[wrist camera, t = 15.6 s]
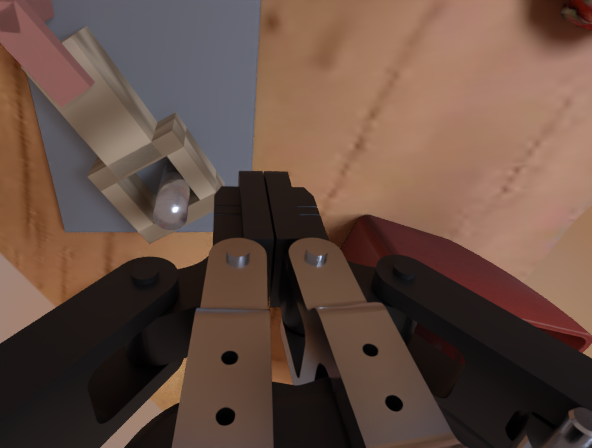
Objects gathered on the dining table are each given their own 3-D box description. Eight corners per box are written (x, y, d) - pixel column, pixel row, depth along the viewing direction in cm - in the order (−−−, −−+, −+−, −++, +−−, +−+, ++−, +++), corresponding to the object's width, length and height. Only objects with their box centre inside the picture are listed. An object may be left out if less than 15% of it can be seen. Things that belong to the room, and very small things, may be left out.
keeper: (44, -26, 29) (0, -15, 23) (113, 59, 32) (90, 87, 26) (18, -6, 29) (-32, 9, 23) (88, 76, 33) (61, 107, 27)
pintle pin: (191, 155, 37) (186, 203, 30) (192, 179, 38) (187, 230, 32) (163, 154, 36) (151, 202, 30) (165, 179, 38) (154, 230, 31)
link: (21, 64, 31) (-2, 80, 27) (107, 12, 30) (94, 22, 26) (154, 218, 40) (149, 243, 36) (224, 182, 39) (225, 205, 35)
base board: (266, -125, 28) (267, -127, 27) (247, 226, 43) (248, 231, 42) (-26, -171, 24) (-34, -175, 24) (68, 226, 40) (65, 232, 39)
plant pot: (349, 175, 42) (415, 294, 28) (492, 224, 48) (601, 339, 35) (276, 308, 51) (299, 448, 37) (405, 334, 57) (464, 460, 44)
